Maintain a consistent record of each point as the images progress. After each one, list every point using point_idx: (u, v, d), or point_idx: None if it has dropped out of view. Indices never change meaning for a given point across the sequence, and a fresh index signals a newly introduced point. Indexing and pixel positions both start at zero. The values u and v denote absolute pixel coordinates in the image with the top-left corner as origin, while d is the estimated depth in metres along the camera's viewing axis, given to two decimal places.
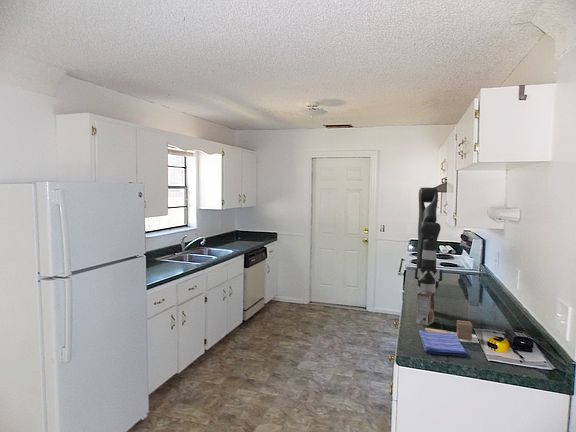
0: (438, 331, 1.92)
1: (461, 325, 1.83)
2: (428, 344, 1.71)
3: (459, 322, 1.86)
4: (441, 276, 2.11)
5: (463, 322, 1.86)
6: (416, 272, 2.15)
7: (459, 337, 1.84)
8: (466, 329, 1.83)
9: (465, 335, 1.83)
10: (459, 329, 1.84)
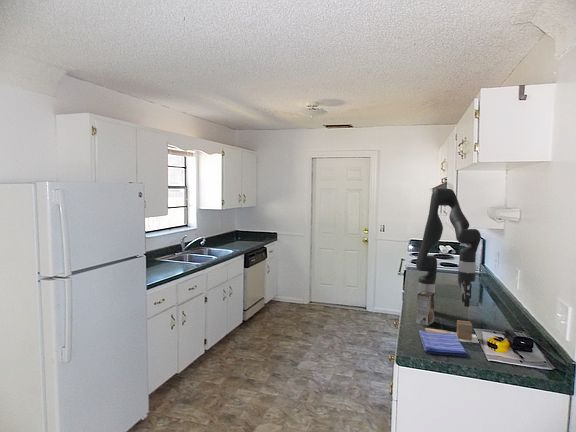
0: (438, 331, 1.92)
1: (461, 325, 1.83)
2: (428, 344, 1.71)
3: (459, 322, 1.86)
4: None
5: (463, 322, 1.86)
6: (470, 290, 1.78)
7: (459, 337, 1.84)
8: (466, 329, 1.83)
9: (465, 335, 1.83)
10: (459, 329, 1.84)
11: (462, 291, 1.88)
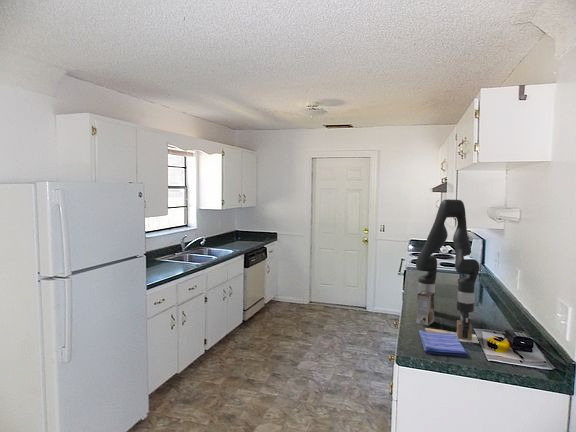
0: (438, 331, 1.92)
1: (461, 325, 1.83)
2: (428, 344, 1.71)
3: (459, 322, 1.86)
4: None
5: (463, 322, 1.86)
6: None
7: (459, 337, 1.84)
8: None
9: None
10: (459, 329, 1.84)
11: (461, 321, 1.88)
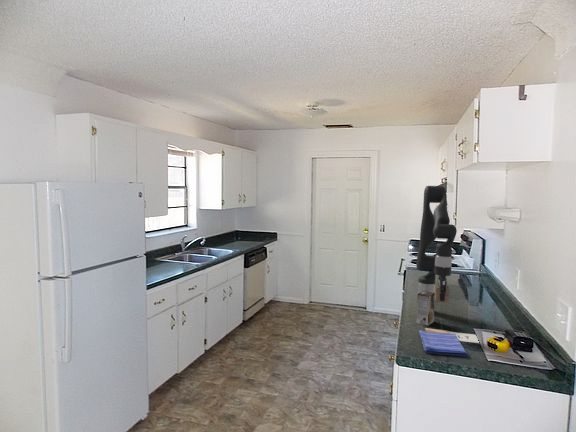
0: (438, 331, 1.92)
1: (438, 289, 1.87)
2: (428, 344, 1.71)
3: (437, 286, 1.89)
4: None
5: None
6: (446, 285, 1.83)
7: (436, 300, 1.87)
8: None
9: None
10: (437, 293, 1.87)
11: (439, 286, 1.92)
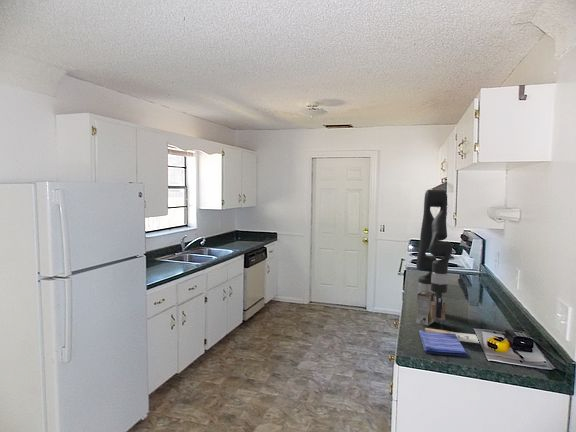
0: (438, 331, 1.92)
1: (435, 305, 1.88)
2: (428, 344, 1.71)
3: (433, 303, 1.90)
4: None
5: None
6: (442, 303, 1.84)
7: (433, 317, 1.88)
8: None
9: None
10: (433, 309, 1.88)
11: None
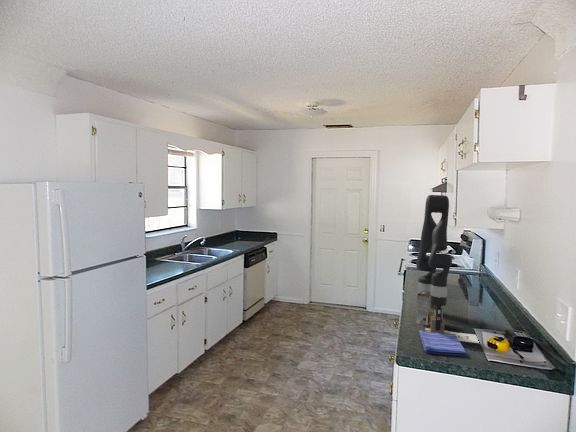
0: None
1: (434, 321, 1.88)
2: (428, 344, 1.71)
3: (432, 318, 1.91)
4: None
5: None
6: (441, 314, 1.84)
7: (432, 332, 1.88)
8: None
9: (438, 331, 1.88)
10: (432, 324, 1.88)
11: None
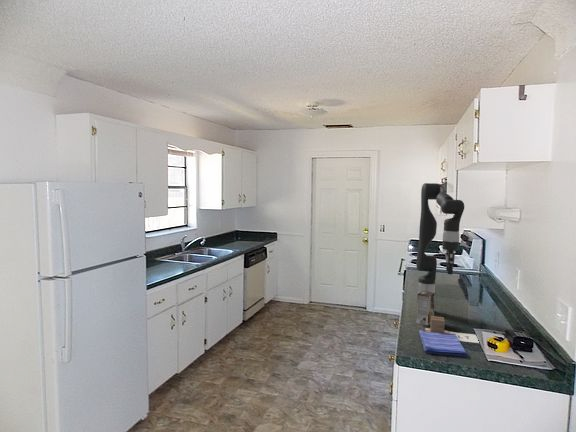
0: None
1: (434, 321, 1.88)
2: (428, 344, 1.71)
3: (432, 318, 1.91)
4: None
5: (436, 318, 1.91)
6: (453, 258, 1.85)
7: None
8: (439, 324, 1.87)
9: (438, 331, 1.88)
10: (432, 324, 1.88)
11: (446, 260, 1.95)
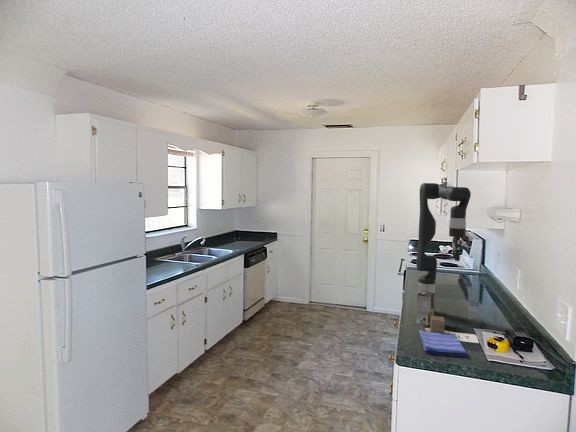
0: None
1: (434, 321, 1.88)
2: (428, 344, 1.71)
3: (432, 318, 1.91)
4: None
5: (436, 318, 1.91)
6: (460, 245, 1.87)
7: None
8: (439, 324, 1.87)
9: (438, 331, 1.88)
10: (432, 324, 1.88)
11: (453, 247, 1.97)
